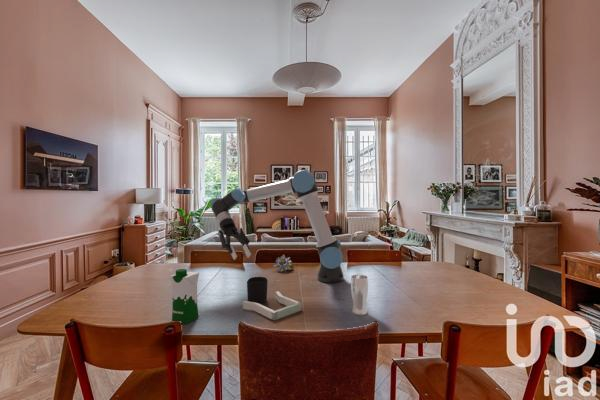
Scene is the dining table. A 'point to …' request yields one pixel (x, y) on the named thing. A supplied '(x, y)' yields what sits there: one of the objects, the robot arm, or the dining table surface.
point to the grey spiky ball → (283, 263)
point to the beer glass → (359, 294)
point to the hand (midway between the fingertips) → (242, 256)
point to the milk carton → (184, 296)
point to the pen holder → (257, 289)
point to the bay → (274, 315)
